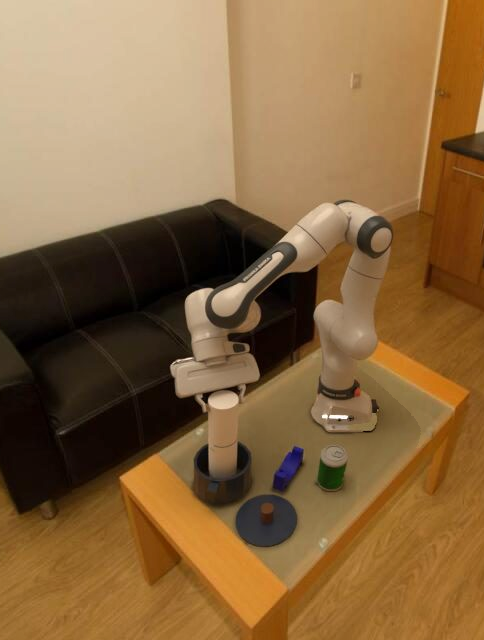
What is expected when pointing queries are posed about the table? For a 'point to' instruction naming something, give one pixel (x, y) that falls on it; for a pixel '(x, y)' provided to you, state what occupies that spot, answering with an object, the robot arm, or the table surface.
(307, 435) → the table surface
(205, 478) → the pot
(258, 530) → the pot lid
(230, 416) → the cylindrical container
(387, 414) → the table surface
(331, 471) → the soda can
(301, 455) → the cable clip
